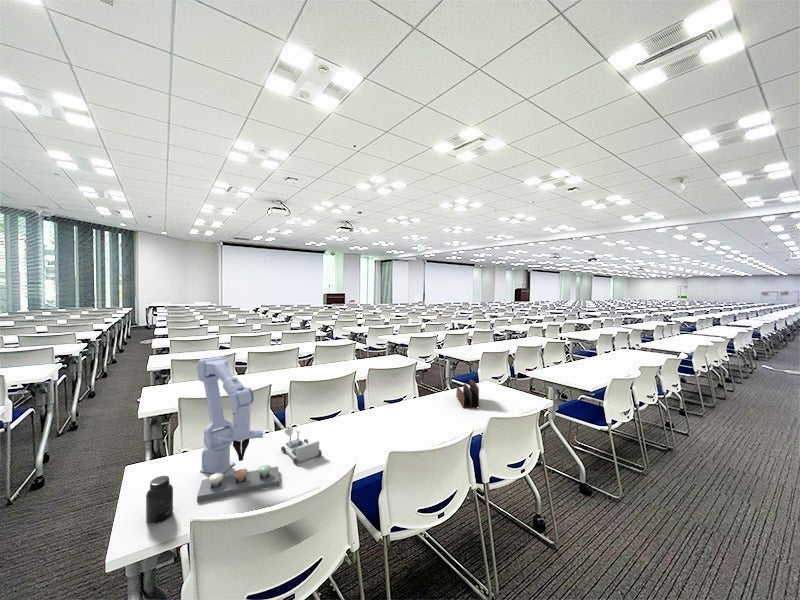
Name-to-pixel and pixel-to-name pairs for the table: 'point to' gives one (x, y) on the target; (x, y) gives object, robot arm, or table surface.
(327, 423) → the table surface
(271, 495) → the table surface
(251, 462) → the table surface
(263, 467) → the sage green button
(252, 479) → the button panel
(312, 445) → the toy rover
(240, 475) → the terracotta button
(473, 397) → the letter holder
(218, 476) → the ivory button
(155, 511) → the supplement bottle
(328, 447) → the table surface
